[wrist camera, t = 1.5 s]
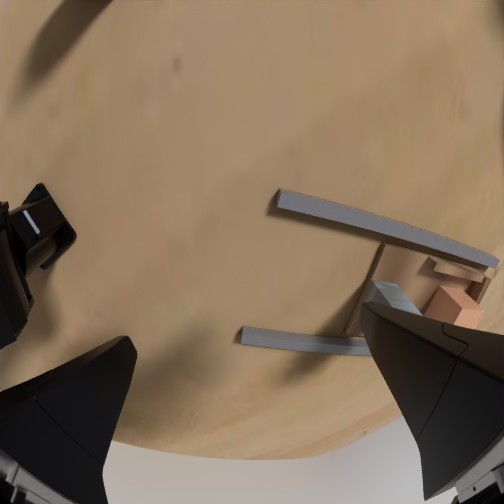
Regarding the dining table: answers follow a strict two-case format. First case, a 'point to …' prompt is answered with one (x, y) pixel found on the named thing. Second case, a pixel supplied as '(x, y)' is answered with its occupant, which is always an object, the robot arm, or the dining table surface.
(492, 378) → the robot arm
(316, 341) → the lane
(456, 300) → the cube
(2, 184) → the dining table surface
